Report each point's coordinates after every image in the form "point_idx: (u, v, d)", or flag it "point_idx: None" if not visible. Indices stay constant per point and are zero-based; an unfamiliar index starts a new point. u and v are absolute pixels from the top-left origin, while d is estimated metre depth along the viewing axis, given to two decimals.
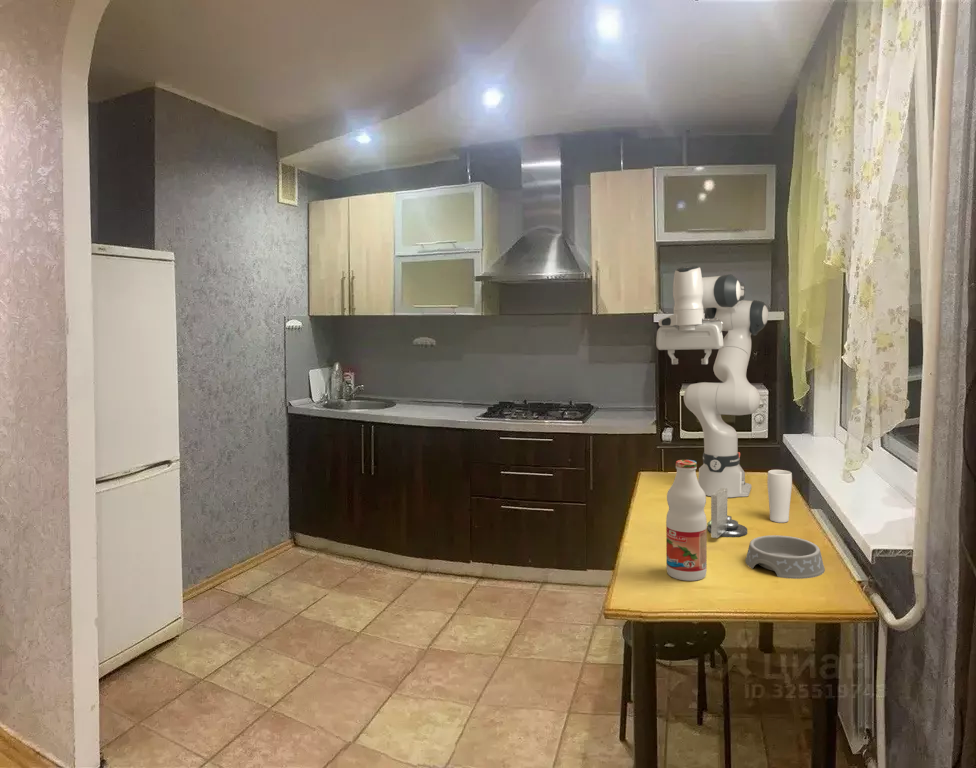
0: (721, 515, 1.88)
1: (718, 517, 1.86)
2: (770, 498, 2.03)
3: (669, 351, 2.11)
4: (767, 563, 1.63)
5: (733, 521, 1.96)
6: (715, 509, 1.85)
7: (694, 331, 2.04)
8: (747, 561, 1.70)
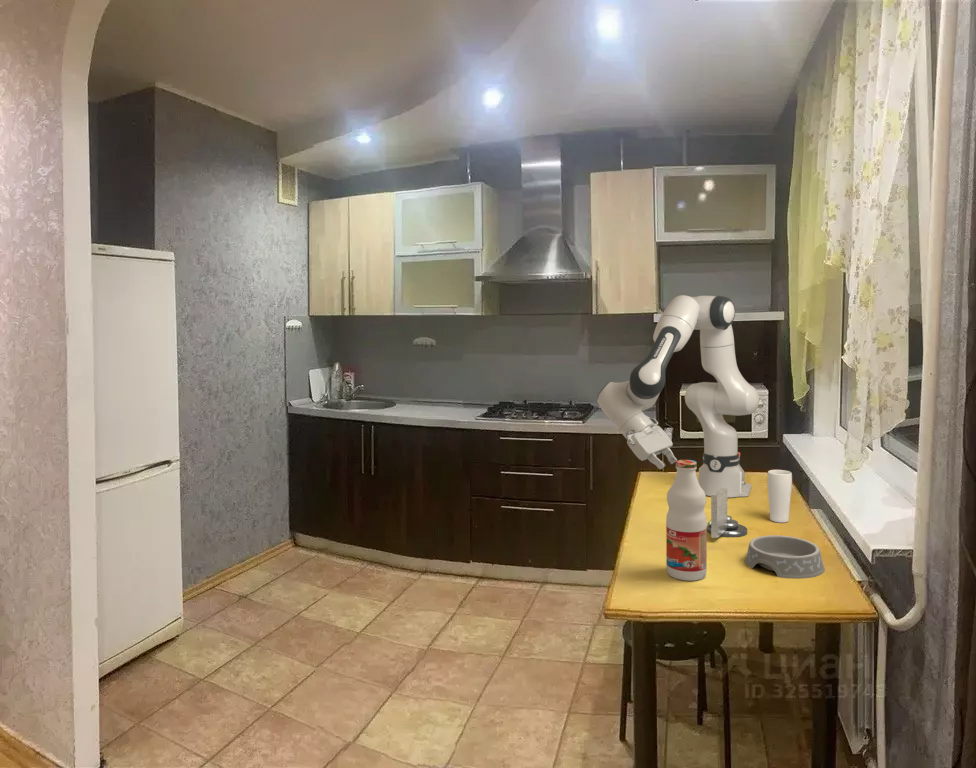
0: (721, 515, 1.88)
1: (718, 517, 1.86)
2: (770, 498, 2.03)
3: None
4: (767, 563, 1.63)
5: (733, 521, 1.96)
6: (715, 509, 1.85)
7: None
8: (747, 561, 1.70)
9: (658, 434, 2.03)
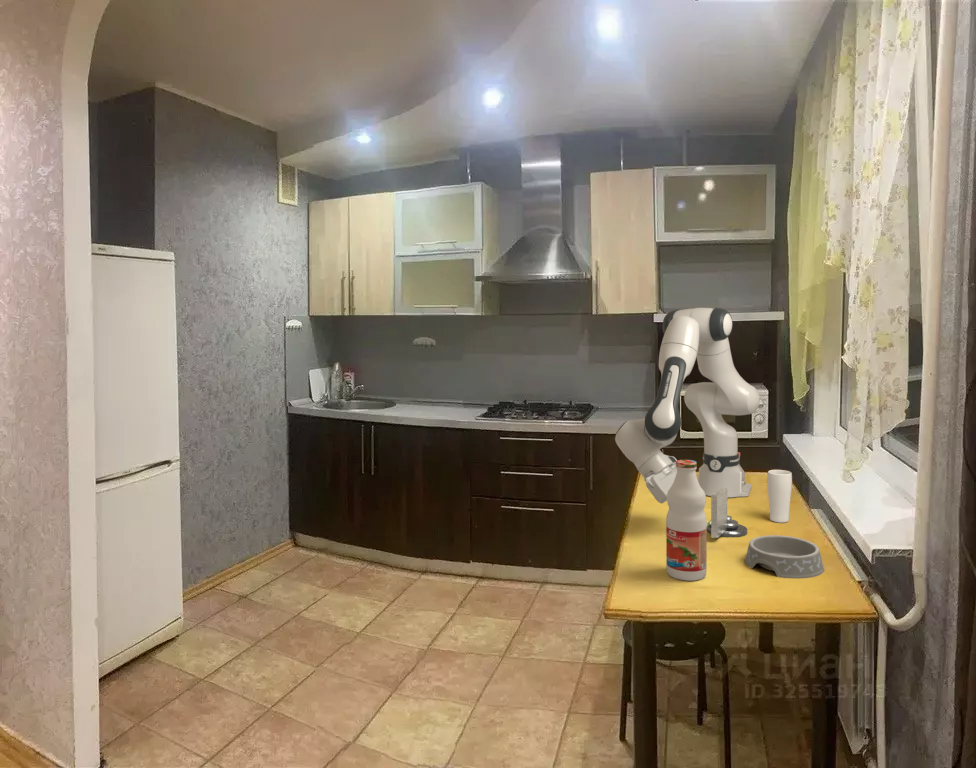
0: (721, 515, 1.88)
1: (718, 517, 1.86)
2: (770, 498, 2.03)
3: None
4: (766, 563, 1.63)
5: (733, 521, 1.96)
6: (715, 509, 1.85)
7: None
8: (747, 561, 1.70)
9: None
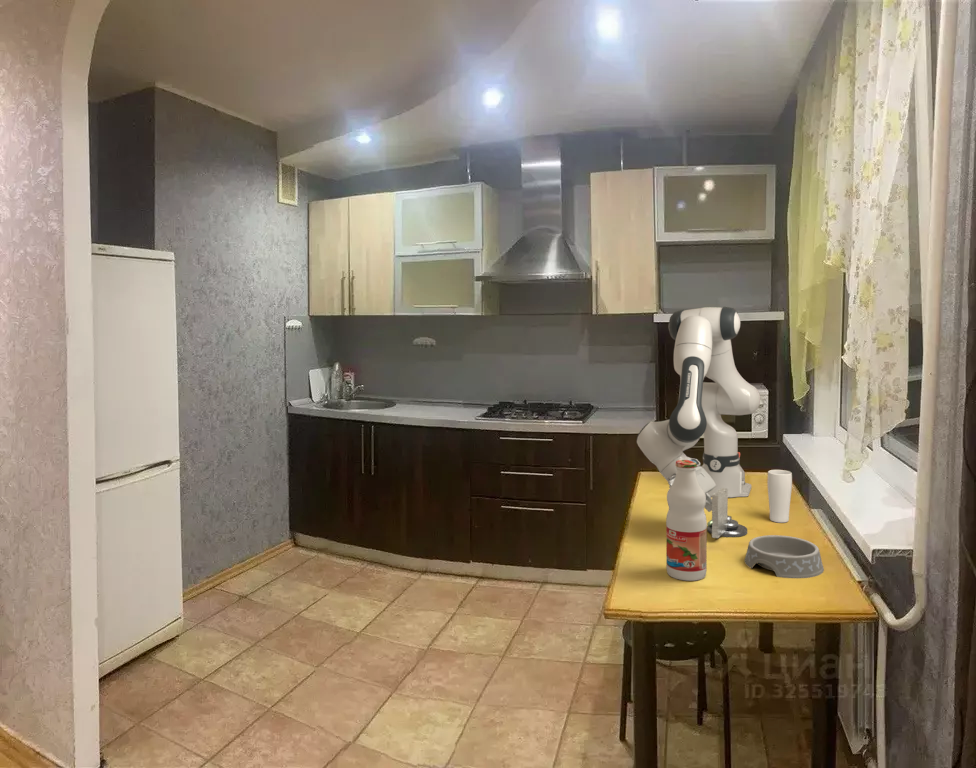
0: (721, 516, 1.88)
1: (719, 517, 1.86)
2: (770, 498, 2.03)
3: None
4: (766, 563, 1.63)
5: (733, 521, 1.96)
6: (716, 509, 1.85)
7: None
8: (746, 561, 1.70)
9: (700, 475, 1.96)
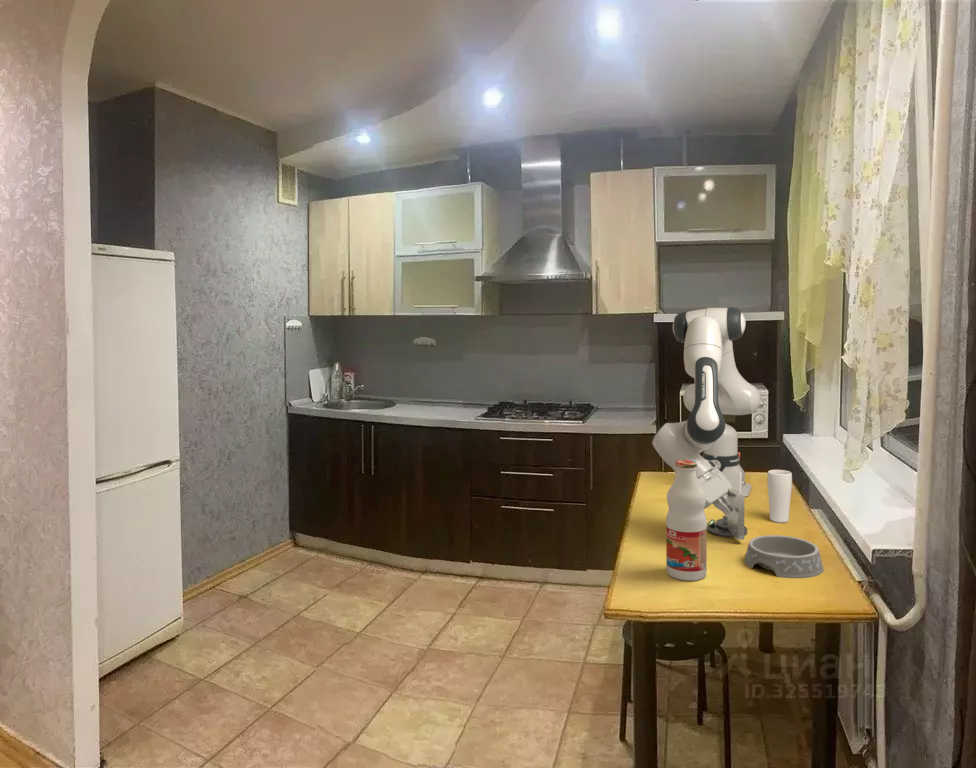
0: None
1: None
2: (770, 498, 2.03)
3: None
4: (766, 563, 1.63)
5: None
6: (742, 510, 1.83)
7: None
8: (746, 561, 1.70)
9: (717, 478, 1.93)
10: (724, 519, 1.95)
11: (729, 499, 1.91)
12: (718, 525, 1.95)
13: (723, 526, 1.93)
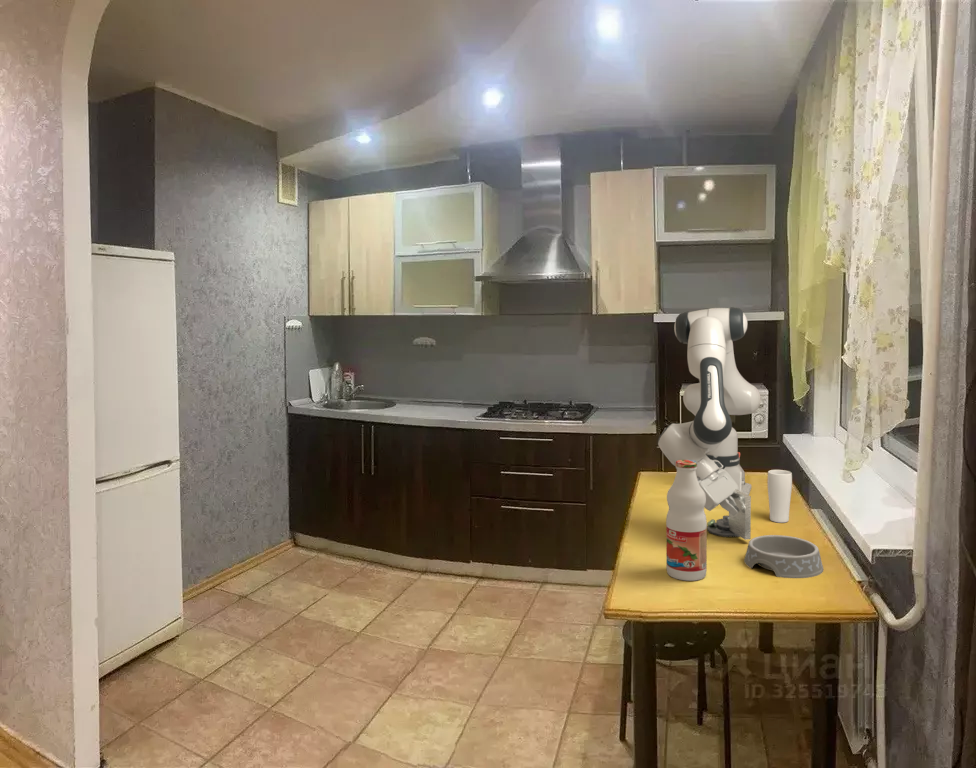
0: None
1: None
2: (770, 498, 2.03)
3: None
4: (766, 563, 1.63)
5: None
6: (749, 510, 1.84)
7: None
8: (746, 561, 1.70)
9: (723, 478, 1.92)
10: (725, 519, 1.95)
11: None
12: (719, 525, 1.94)
13: (725, 526, 1.93)
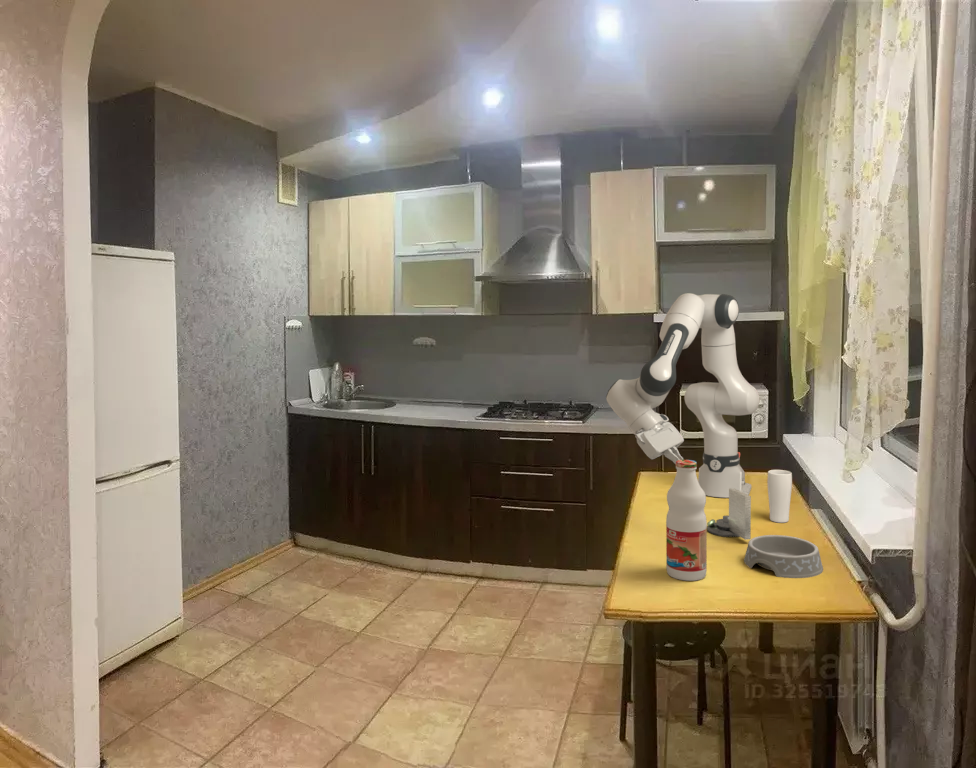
0: None
1: None
2: (770, 498, 2.03)
3: None
4: (766, 562, 1.63)
5: None
6: (749, 510, 1.84)
7: None
8: (746, 561, 1.70)
9: (669, 431, 2.01)
10: (725, 519, 1.95)
11: (731, 499, 1.90)
12: (719, 525, 1.94)
13: (725, 526, 1.93)
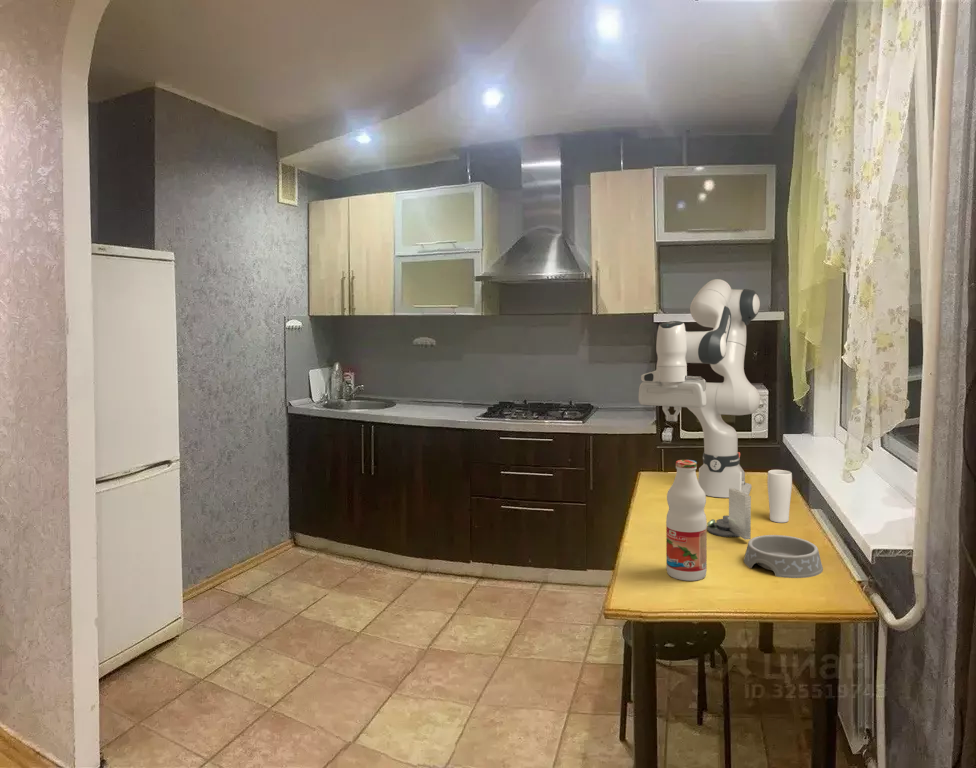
0: None
1: None
2: (770, 498, 2.03)
3: (664, 407, 2.04)
4: (765, 562, 1.63)
5: None
6: (749, 510, 1.84)
7: (676, 388, 2.00)
8: (745, 561, 1.70)
9: None
10: (725, 519, 1.95)
11: (731, 499, 1.90)
12: (719, 525, 1.94)
13: (725, 526, 1.93)
